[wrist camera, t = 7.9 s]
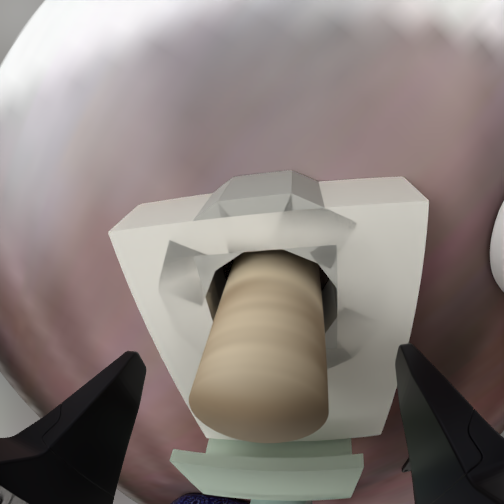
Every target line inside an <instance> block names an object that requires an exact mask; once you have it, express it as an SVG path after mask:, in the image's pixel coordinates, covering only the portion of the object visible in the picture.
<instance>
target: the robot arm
mask: <svg viewBox="0 0 504 504" xmlns="http://www.w3.org/2000/svg"><path fill="white" fill-rule="evenodd" d="M395 370H396V378H397V387H398V396H399V406H400V412H401V416H402V421H403V426H404V431H405V436H406V441H407V447H408V452H409V459H408V460H407V462H406V463H405V465H404V466H403V468H402V472H408V471H411V473H412V482H413V490H414V500H415V504H504V438H503V437H502V436H501V435H500V434H499V433H498V432H496V431H495V430H494V429H493V428H492V427H491V426H490V425H489V424H488V423H487V422H486V421H485V420H484V419H483V418H482V417H481V416H480V415H479V413H478V412H477V411H476V410H475V409H474V410H473V407H472V406H471V405H470V404H469V403H468V402H467V400H466V399H465V398H464V397H463V396H462V395H461V394H460V393H459V392H458V391H457V390H456V389H455V388H454V387H453V386H452V384H451V383H450V382H449V381H448V380H447V379H446V378H445V377H444V376H443V375H442V374H441V373H440V372H439V371H438V370H437V369H436V368H435V367H434V366H433V365H432V364H431V363H430V362H429V361H428V359H427V358H426V357H425V356H424V355H423V354H422V353H421V352H420V351H419V350H418V349H417V348H416V347H415V346H414V345H413V344H411V343H407V344H401V345H399V347H398V351H397V356H396V360H395ZM145 375H146V366H145V364H144V362H143V361H142V359H141V357H140V355H139V354H138V353H137V352H134V351H127V352H125V353H124V354H123V355H121V356H120V357H119V358H118V359H116V360H115V361H114V362H113V363H111V364H110V365H109V366H108V367H106V368H105V369H104V370H103V371H101V372H100V373H99V374H97V375H96V376H95V377H94V378H92V379H91V380H90V381H89V382H87V383H86V384H85V385H84V386H82V387H81V388H80V389H79V390H77V391H76V392H75V393H74V394H72V395H71V396H70V397H69V398H67V399H66V400H65V401H63V402H62V404H60V405H58V406H57V407H56V408H55V409H53V410H52V411H51V412H49V413H48V414H47V415H45V416H44V417H42V418H41V419H40V420H38V421H37V422H35V423H34V424H32V425H31V426H29V427H27V428H26V429H24V430H23V431H21V432H20V433H19V434H17V435H15V436H12V437H9V438H0V504H113V500H114V495H115V491H116V488H117V484H118V480H119V476H120V472H121V469H122V465H123V461H124V458H125V454H126V450H127V447H128V443H129V440H130V436H131V433H132V430H133V426H134V423H135V419H136V416H137V413H138V409H139V405H140V401H141V396H142V390H143V385H144V380H145Z"/></svg>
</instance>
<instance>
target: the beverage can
mask: <svg viewBox="0 0 504 504" xmlns="http://www.w3.org/2000/svg"><path fill="white" fill-rule="evenodd" d="M490 265H491V270H492V274H493V277H494V279H495V281H496V283H497V284H498V285H499V287H500V288H501V290H502V291H503V292H504V201H503V203H502V205H501V207H500V210H499V212H498V215H497V218H496V221H495V224H494V227H493V232H492V237H491V243H490Z"/></svg>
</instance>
